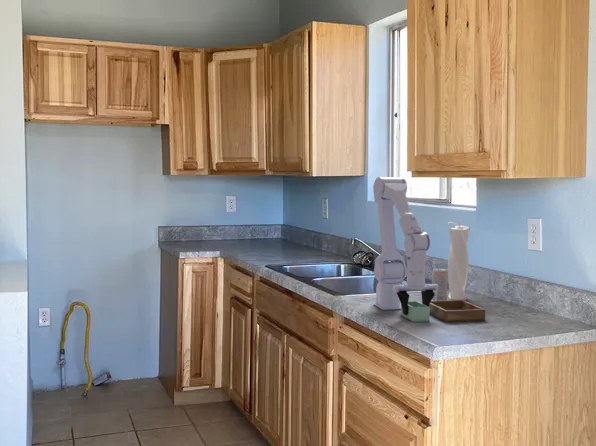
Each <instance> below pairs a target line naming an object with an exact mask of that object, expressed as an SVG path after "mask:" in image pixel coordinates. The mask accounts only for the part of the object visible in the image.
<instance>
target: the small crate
mask: <svg viewBox="0 0 596 446" xmlns="http://www.w3.org/2000/svg"><path fill="white" fill-rule="evenodd" d="M400 305H401V304H400ZM400 316H401V317H403V318H404V319H406V320H408V321H410V322H412V323H424V322H425V323H429V322H430V307H428V306H426V305H424V304H422V302H420V301H418V300H408V315H404V314H403V310H402V305H401V309H400Z"/></svg>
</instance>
